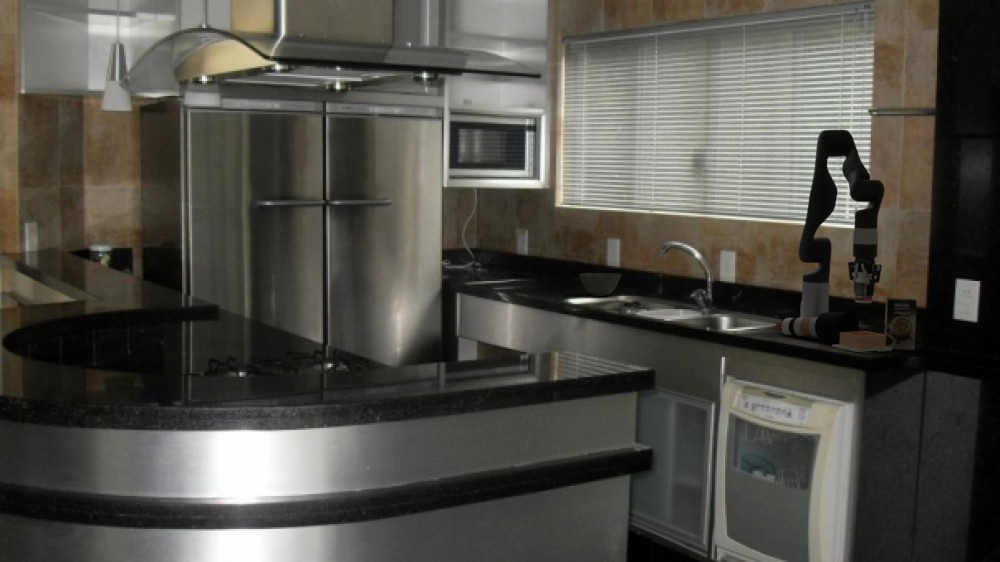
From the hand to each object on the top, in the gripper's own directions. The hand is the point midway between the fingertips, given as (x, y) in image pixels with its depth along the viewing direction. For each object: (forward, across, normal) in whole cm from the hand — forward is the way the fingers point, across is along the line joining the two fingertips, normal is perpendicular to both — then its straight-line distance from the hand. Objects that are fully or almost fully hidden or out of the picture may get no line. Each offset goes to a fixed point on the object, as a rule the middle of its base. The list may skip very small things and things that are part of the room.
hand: (863, 294), depth 386 cm
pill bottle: (+3, 0, 0) cm, 3 cm away
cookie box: (+18, -3, -13) cm, 22 cm away
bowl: (+18, +170, +9) cm, 171 cm away
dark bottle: (+18, +25, +1) cm, 31 cm away
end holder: (+18, 0, 0) cm, 18 cm away
